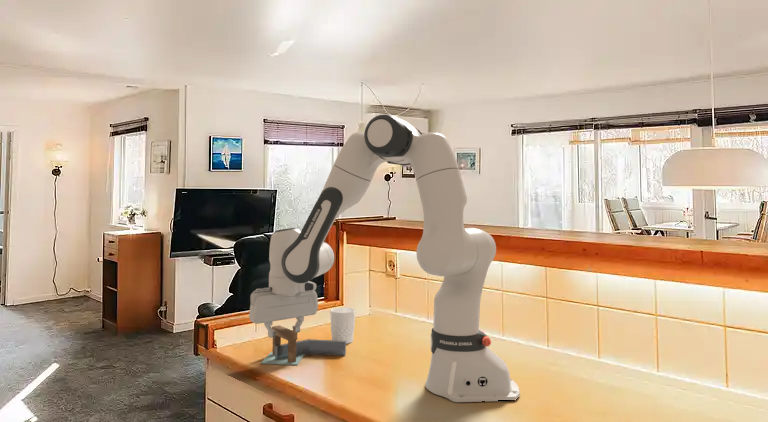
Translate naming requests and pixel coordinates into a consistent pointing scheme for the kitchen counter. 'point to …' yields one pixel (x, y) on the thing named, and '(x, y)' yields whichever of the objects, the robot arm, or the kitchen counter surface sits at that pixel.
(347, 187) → the robot arm
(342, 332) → the white cup
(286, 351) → the rail
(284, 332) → the arch
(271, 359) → the pad
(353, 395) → the kitchen counter surface
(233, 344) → the kitchen counter surface
